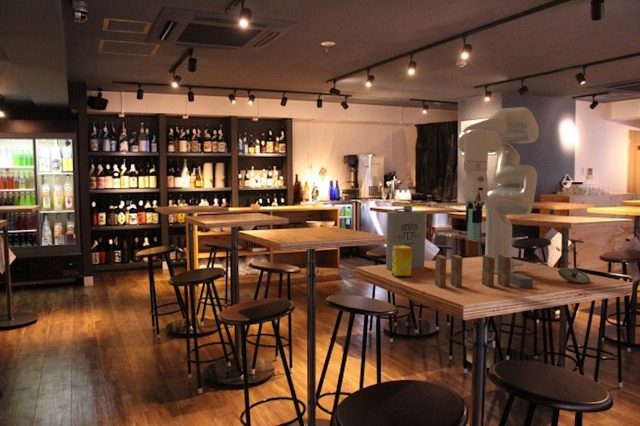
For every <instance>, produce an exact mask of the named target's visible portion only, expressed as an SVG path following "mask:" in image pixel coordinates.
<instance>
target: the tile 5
mask: <svg viewBox="0 0 640 426" xmlns="http://www.w3.org/2000/svg"><path fill="white" fill-rule="evenodd" d="M511 259H512V256H511V257H509V256H506V255H498V273H497V281H496V282H497V285H498V286H501V287H503V288H510V285H511V283H510V274H511V273H510V263H511Z"/></svg>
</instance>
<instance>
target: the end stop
mask: <svg viewBox="0 0 640 426" xmlns="http://www.w3.org/2000/svg"><path fill="white" fill-rule="evenodd" d="M510 284H512V285H514V286H516V287H518V288H521V289H528V288H529V289H532V288H533V287H534V279H533V278H531V277H530V276H527V275H524V274H522V273H510Z"/></svg>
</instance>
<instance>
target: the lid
mask: <svg viewBox="0 0 640 426" xmlns="http://www.w3.org/2000/svg"><path fill="white" fill-rule="evenodd" d="M557 272H558V275H559V276H560V277H561V278H562V279H563V280H565V281H567V282H569V283H572V284H575V285H587V284H589V283H590V282H591V278H590V277H589V275H587V274H586V273H584V272H583V271H581V270H580V269H579V268H577V267H575V268H569V267H561V268H559V269H558V270H557ZM586 283H587V284H586Z"/></svg>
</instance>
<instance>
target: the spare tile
mask: <svg viewBox="0 0 640 426" xmlns="http://www.w3.org/2000/svg"><path fill="white" fill-rule="evenodd" d="M472 211H474V210H473V209H468V221H467V235H466V238H467V239H468V240H472V241H479V240H480V223H472Z"/></svg>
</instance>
